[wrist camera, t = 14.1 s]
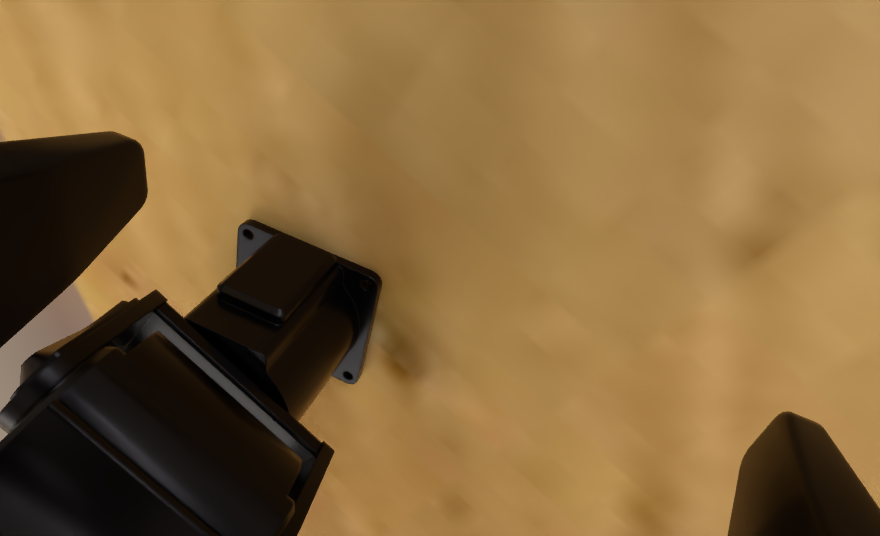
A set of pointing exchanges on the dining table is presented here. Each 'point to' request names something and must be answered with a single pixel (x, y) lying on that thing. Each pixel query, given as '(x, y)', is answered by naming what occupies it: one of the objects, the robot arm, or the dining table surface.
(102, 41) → the dining table surface
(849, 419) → the dining table surface
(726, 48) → the dining table surface
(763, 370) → the dining table surface
